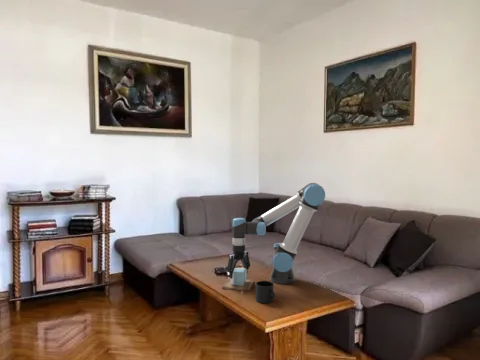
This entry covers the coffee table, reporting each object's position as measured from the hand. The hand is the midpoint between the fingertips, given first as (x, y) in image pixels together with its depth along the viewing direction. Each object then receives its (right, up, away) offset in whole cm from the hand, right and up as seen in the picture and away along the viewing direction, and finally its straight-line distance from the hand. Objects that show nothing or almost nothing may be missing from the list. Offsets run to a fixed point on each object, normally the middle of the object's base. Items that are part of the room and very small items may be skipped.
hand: (238, 281), depth 221 cm
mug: (+15, -4, -24) cm, 28 cm away
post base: (0, -2, 0) cm, 2 cm away
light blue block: (0, -1, 0) cm, 1 cm away
